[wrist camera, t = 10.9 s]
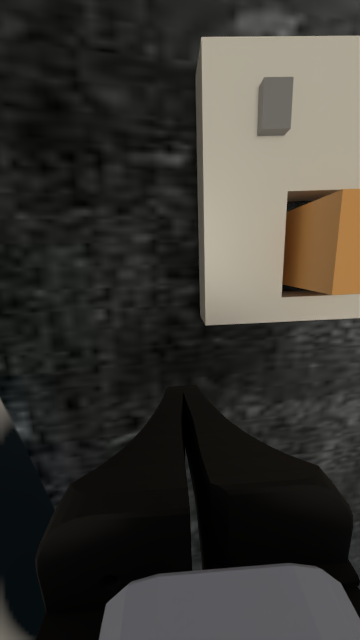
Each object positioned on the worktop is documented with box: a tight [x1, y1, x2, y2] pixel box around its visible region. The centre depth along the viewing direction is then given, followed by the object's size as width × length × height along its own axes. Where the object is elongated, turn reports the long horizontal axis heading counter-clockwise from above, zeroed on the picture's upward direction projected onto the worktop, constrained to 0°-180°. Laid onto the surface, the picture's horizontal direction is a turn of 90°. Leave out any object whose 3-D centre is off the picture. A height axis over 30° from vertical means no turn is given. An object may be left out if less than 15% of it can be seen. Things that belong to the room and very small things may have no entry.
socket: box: [195, 36, 360, 325], centre depth 17 cm, size 16×12×4 cm
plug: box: [282, 189, 360, 295], centre depth 16 cm, size 5×4×7 cm
